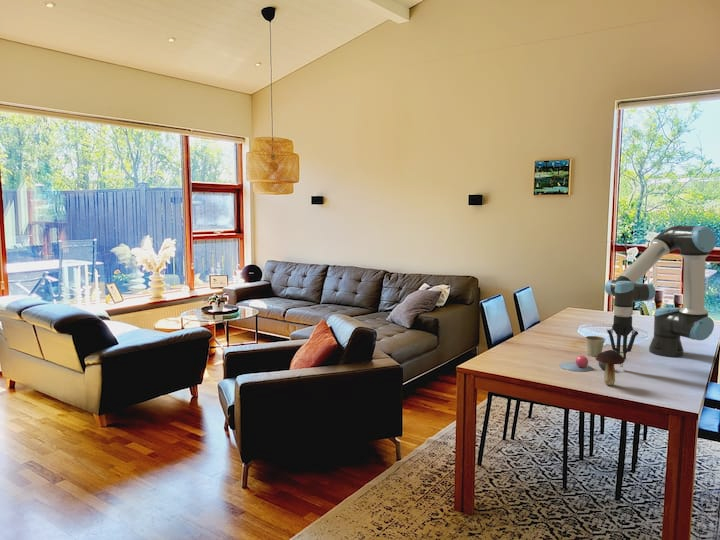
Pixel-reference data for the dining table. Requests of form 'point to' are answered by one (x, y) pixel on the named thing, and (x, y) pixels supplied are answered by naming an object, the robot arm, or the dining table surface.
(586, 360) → the cranberry ball
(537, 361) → the dining table surface
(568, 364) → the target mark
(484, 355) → the dining table surface
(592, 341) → the flower pot
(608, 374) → the decorative mushroom
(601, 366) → the grey ball
